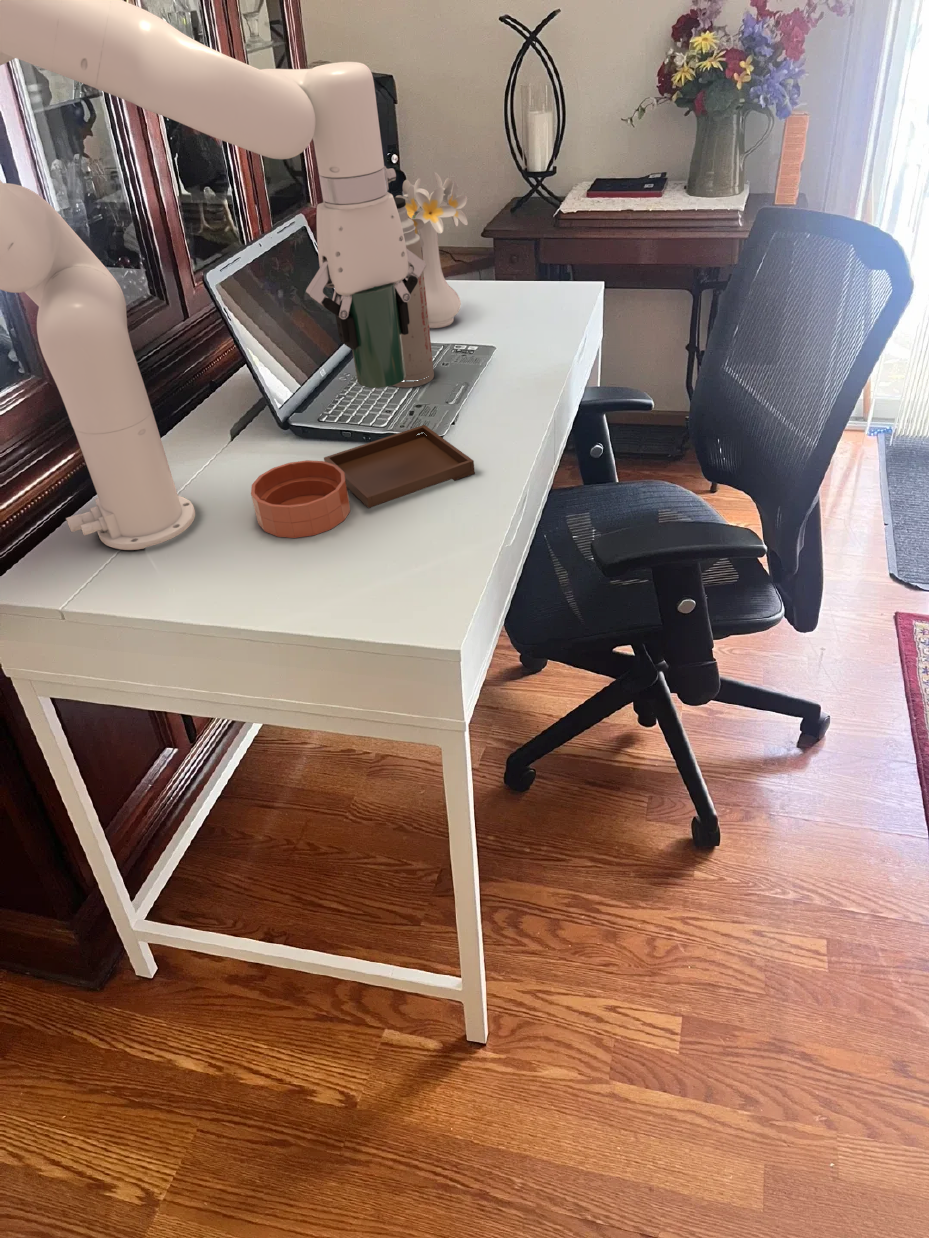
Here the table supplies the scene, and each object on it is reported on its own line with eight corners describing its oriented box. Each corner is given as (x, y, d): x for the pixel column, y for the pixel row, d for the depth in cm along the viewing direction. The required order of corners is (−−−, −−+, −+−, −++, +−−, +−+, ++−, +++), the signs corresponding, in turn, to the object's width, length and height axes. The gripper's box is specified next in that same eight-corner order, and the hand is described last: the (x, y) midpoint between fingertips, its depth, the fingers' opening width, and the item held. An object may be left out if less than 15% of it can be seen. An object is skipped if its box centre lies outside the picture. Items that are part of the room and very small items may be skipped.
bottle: (370, 392, 119) (349, 254, 108) (349, 377, 123) (327, 243, 113) (414, 378, 121) (398, 242, 111) (392, 364, 125) (374, 231, 115)
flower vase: (392, 342, 170) (373, 196, 155) (417, 306, 184) (402, 169, 169) (461, 343, 168) (449, 193, 152) (482, 306, 182) (473, 166, 167)
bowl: (279, 551, 117) (271, 517, 114) (246, 512, 125) (238, 479, 122) (365, 520, 121) (360, 486, 118) (328, 484, 130) (322, 451, 127)
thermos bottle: (438, 368, 159) (421, 192, 142) (428, 388, 153) (408, 206, 136) (393, 368, 161) (371, 194, 144) (381, 387, 155) (356, 208, 138)
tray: (369, 511, 123) (366, 497, 122) (325, 470, 133) (323, 457, 132) (474, 473, 129) (473, 460, 128) (425, 437, 139) (424, 424, 138)
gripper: (405, 168, 114) (422, 314, 125) (272, 197, 108) (301, 348, 118) (435, 178, 108) (449, 329, 119) (296, 209, 102) (325, 366, 113)
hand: (375, 337), depth 119 cm, fingers closed on bottle, 6 cm apart
